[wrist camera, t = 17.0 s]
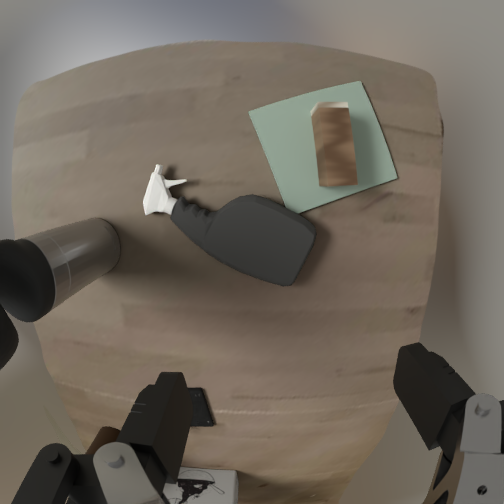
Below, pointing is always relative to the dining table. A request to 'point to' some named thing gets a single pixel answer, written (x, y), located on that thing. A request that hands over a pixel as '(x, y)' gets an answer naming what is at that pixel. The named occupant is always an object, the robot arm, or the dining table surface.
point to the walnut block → (334, 144)
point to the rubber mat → (303, 146)
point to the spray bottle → (240, 231)
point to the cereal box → (203, 487)
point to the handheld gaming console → (200, 408)
